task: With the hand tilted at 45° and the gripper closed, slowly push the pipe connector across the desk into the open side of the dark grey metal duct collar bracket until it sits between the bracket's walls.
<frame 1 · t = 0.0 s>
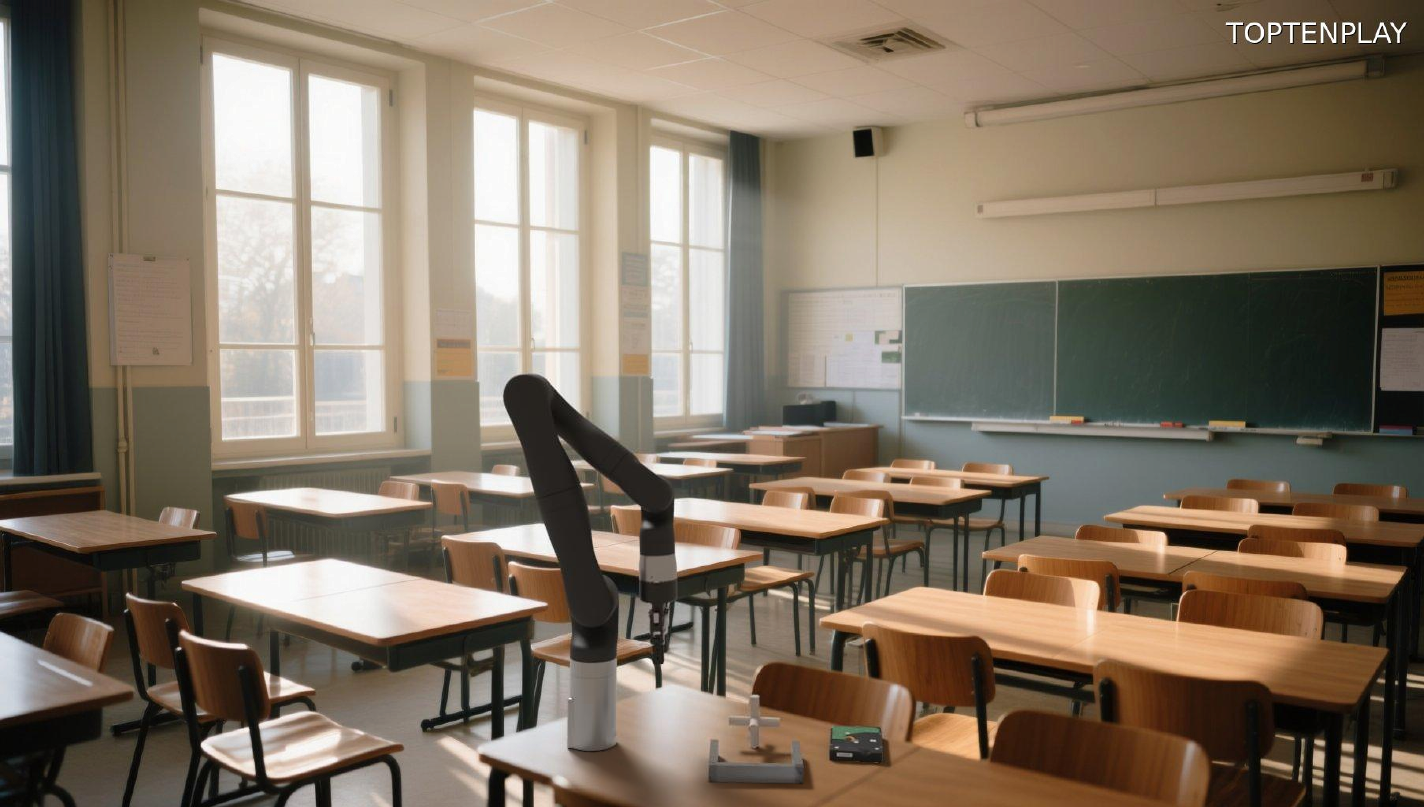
hand: (660, 658, 200), 17 cm above the table, tool pointing down, fingers open, 8 cm apart
disk drive: (855, 752, 199), on the table
pipe connector: (754, 747, 200), on the table
duct collar bracket: (755, 768, 188), on the table
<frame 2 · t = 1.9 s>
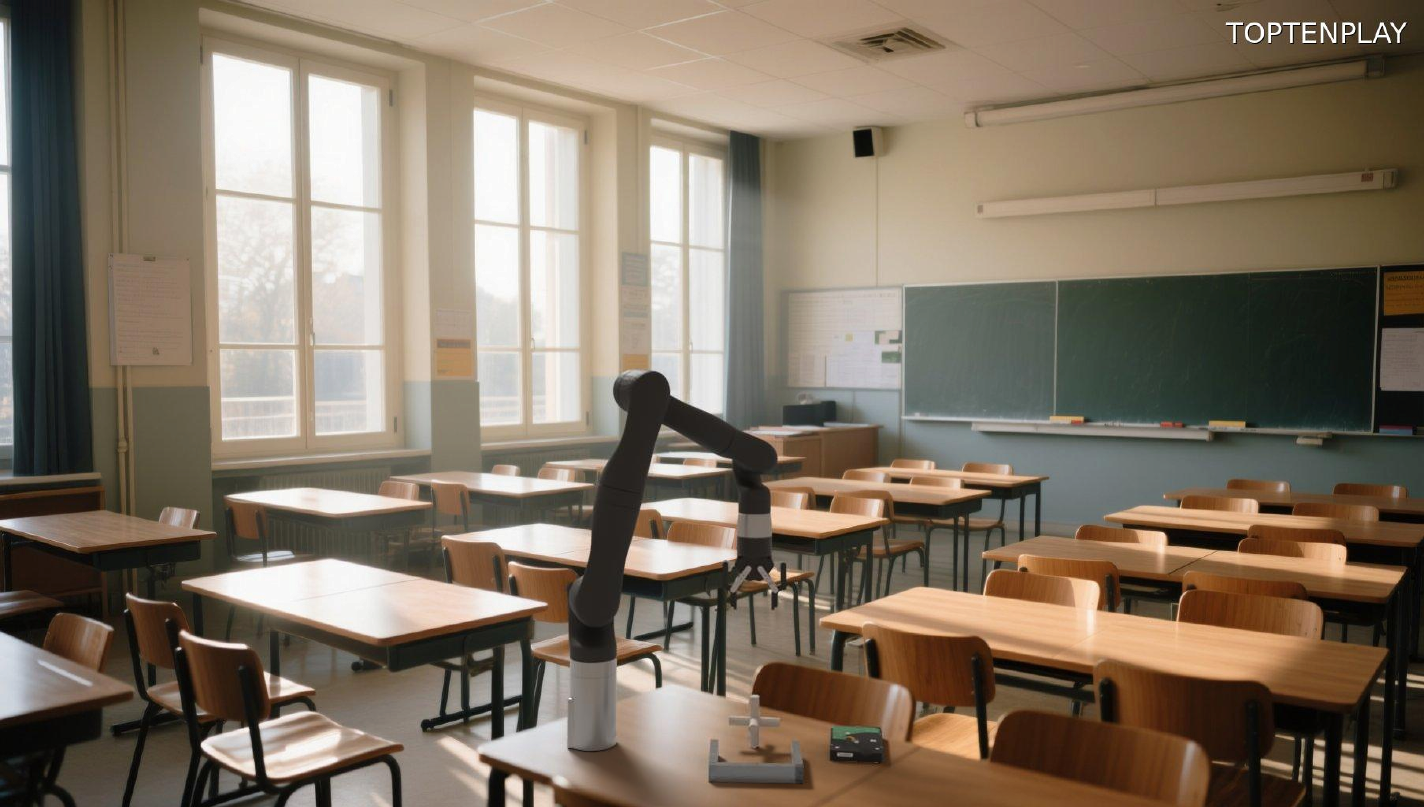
hand: (754, 609, 218), 23 cm above the table, tool pointing down, fingers open, 7 cm apart
nothing on the table moved.
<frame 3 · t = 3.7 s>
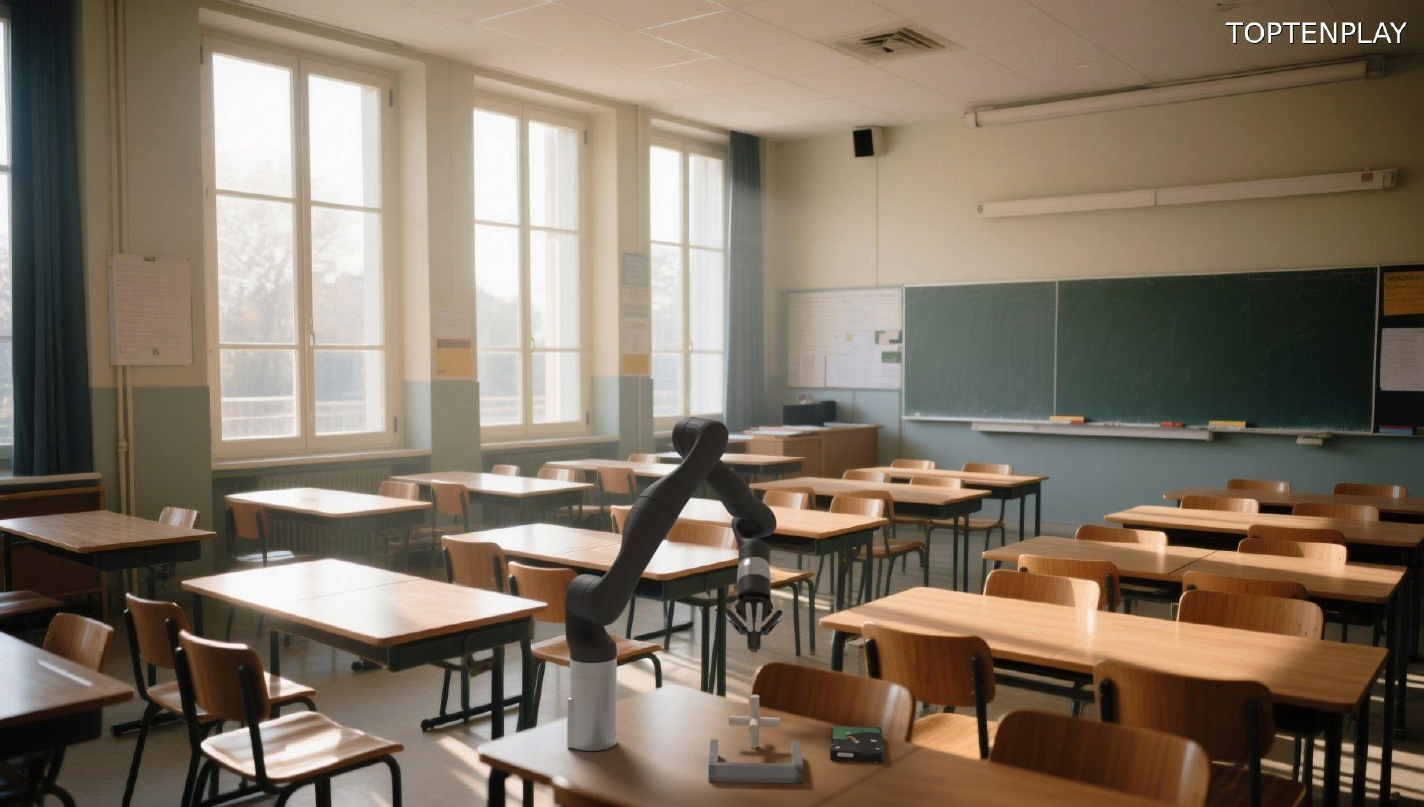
hand: (754, 650, 216), 15 cm above the table, tool tilted 45°, fingers closed
nothing on the table moved.
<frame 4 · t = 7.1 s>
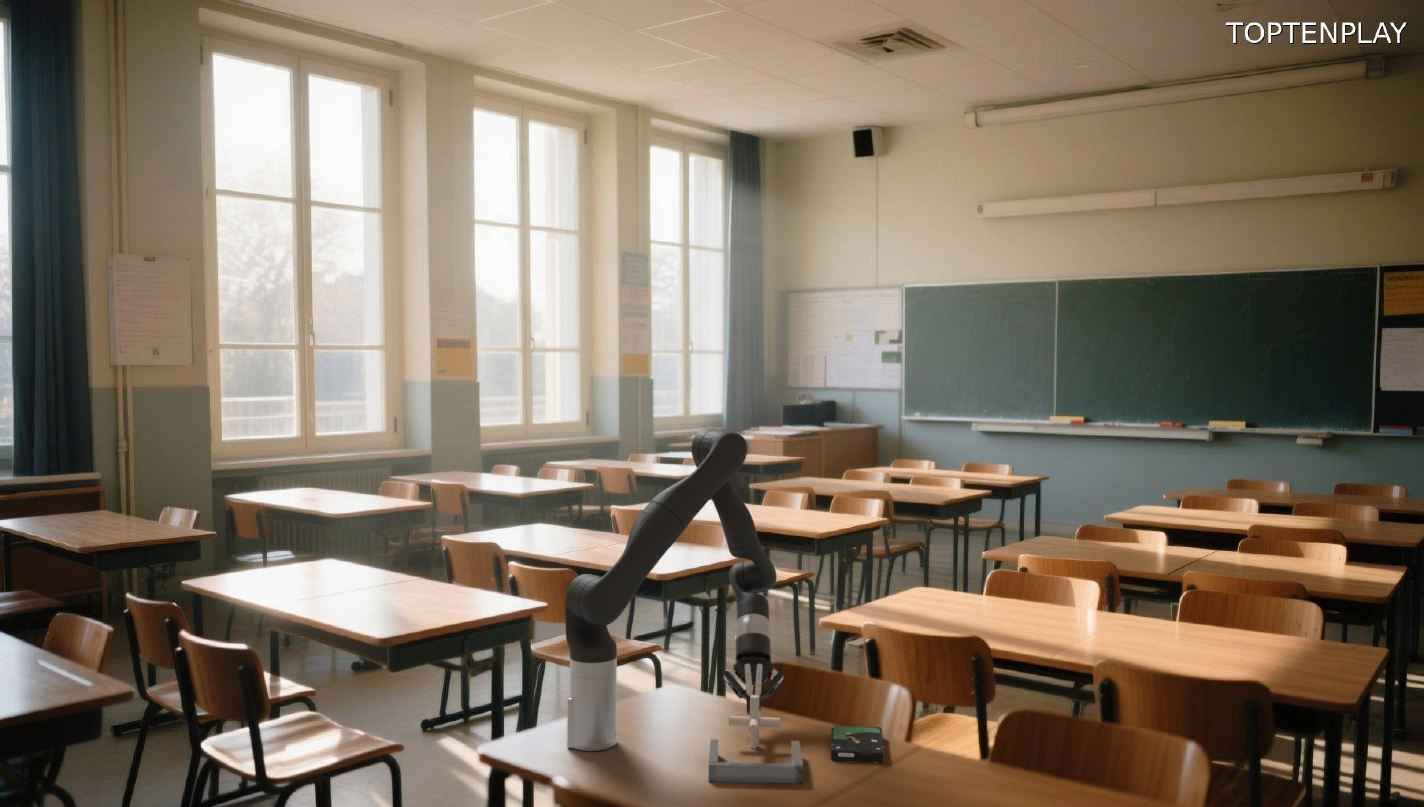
hand: (753, 715, 205), 4 cm above the table, tool tilted 45°, fingers closed
pipe connector: (754, 747, 200), on the table, touching gripper
everything else where it was.
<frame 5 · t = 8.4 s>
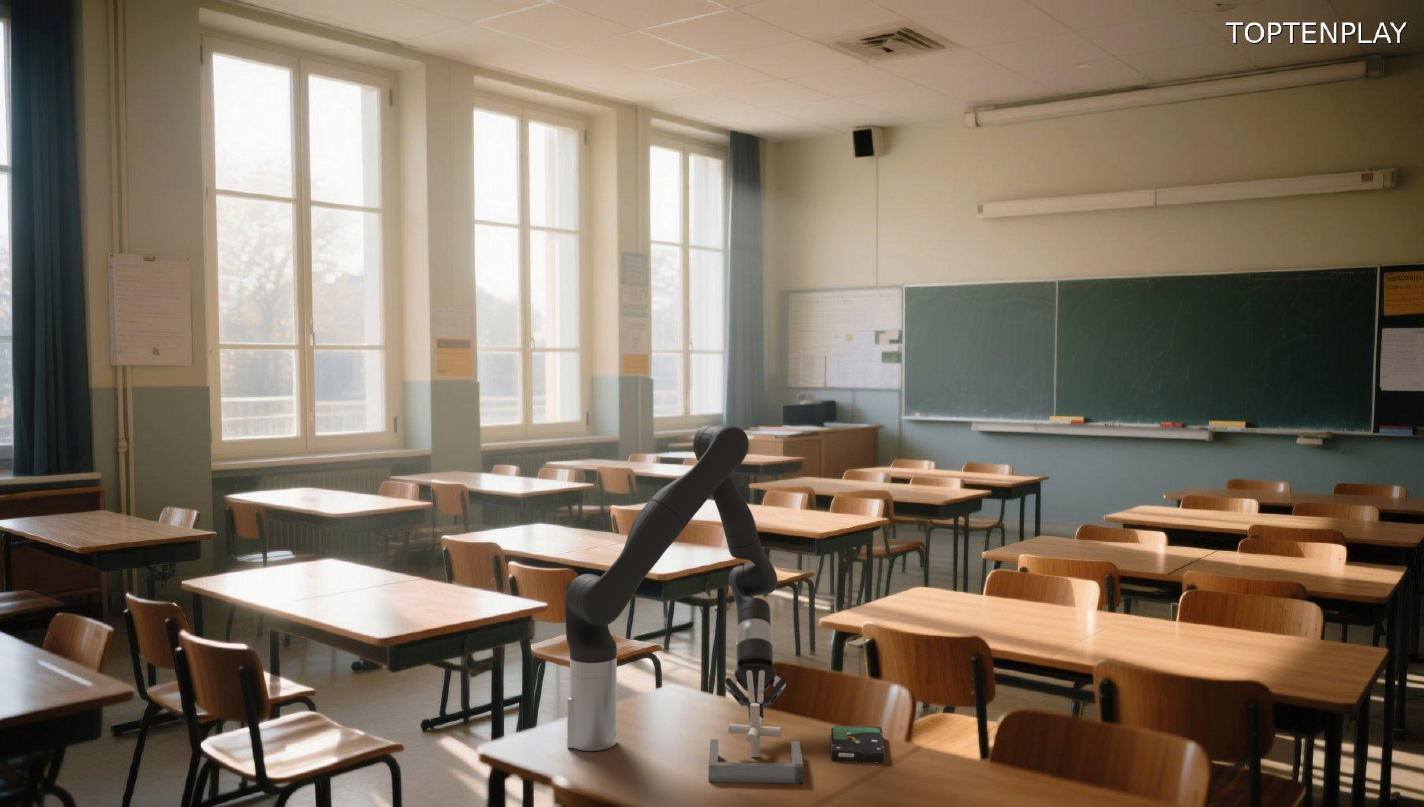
hand: (756, 724, 200), 4 cm above the table, tool tilted 45°, fingers closed
pipe connector: (754, 757, 194), on the table, touching gripper
everything else where it was.
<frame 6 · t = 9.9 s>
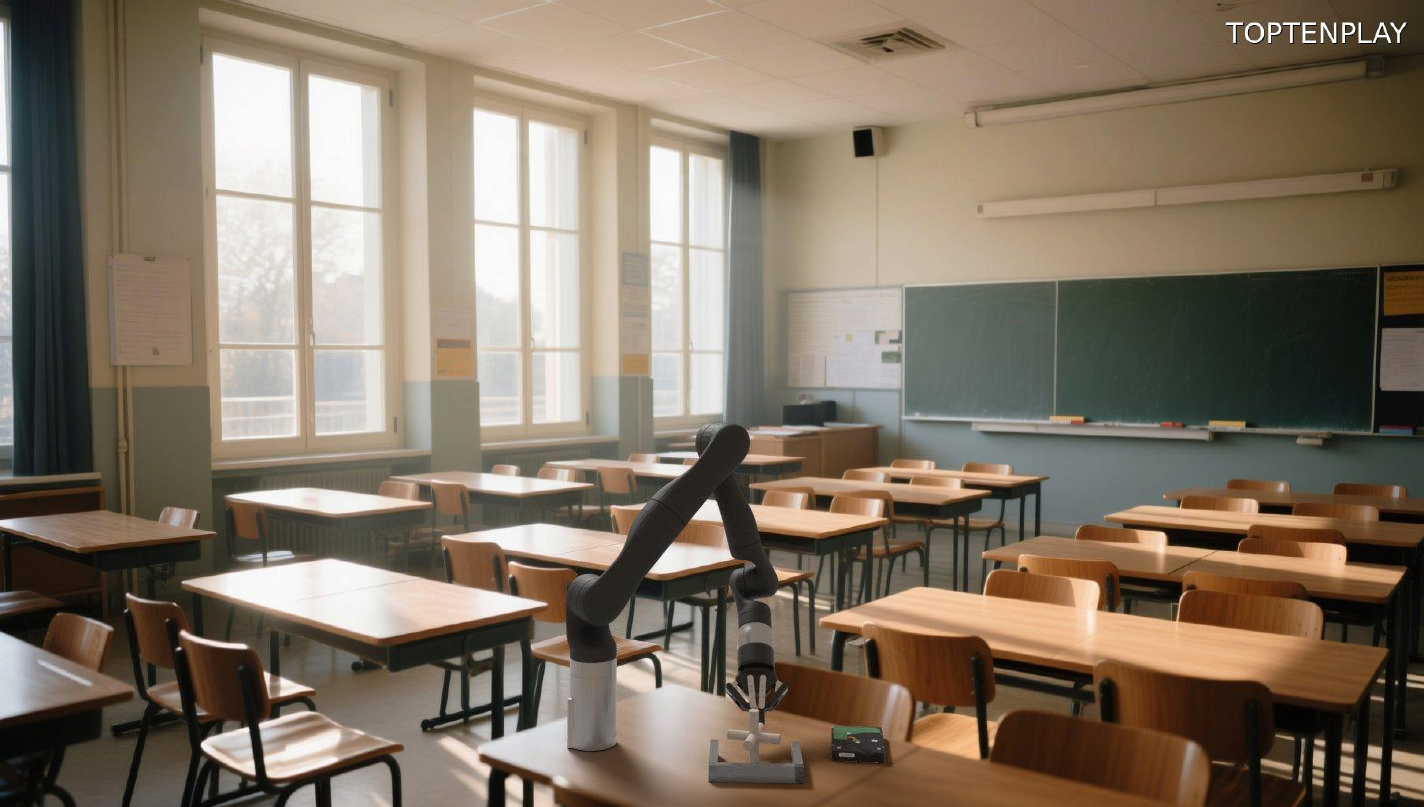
hand: (757, 729, 196), 4 cm above the table, tool tilted 45°, fingers closed
pipe connector: (754, 764, 191), on the table, touching gripper
everything else where it was.
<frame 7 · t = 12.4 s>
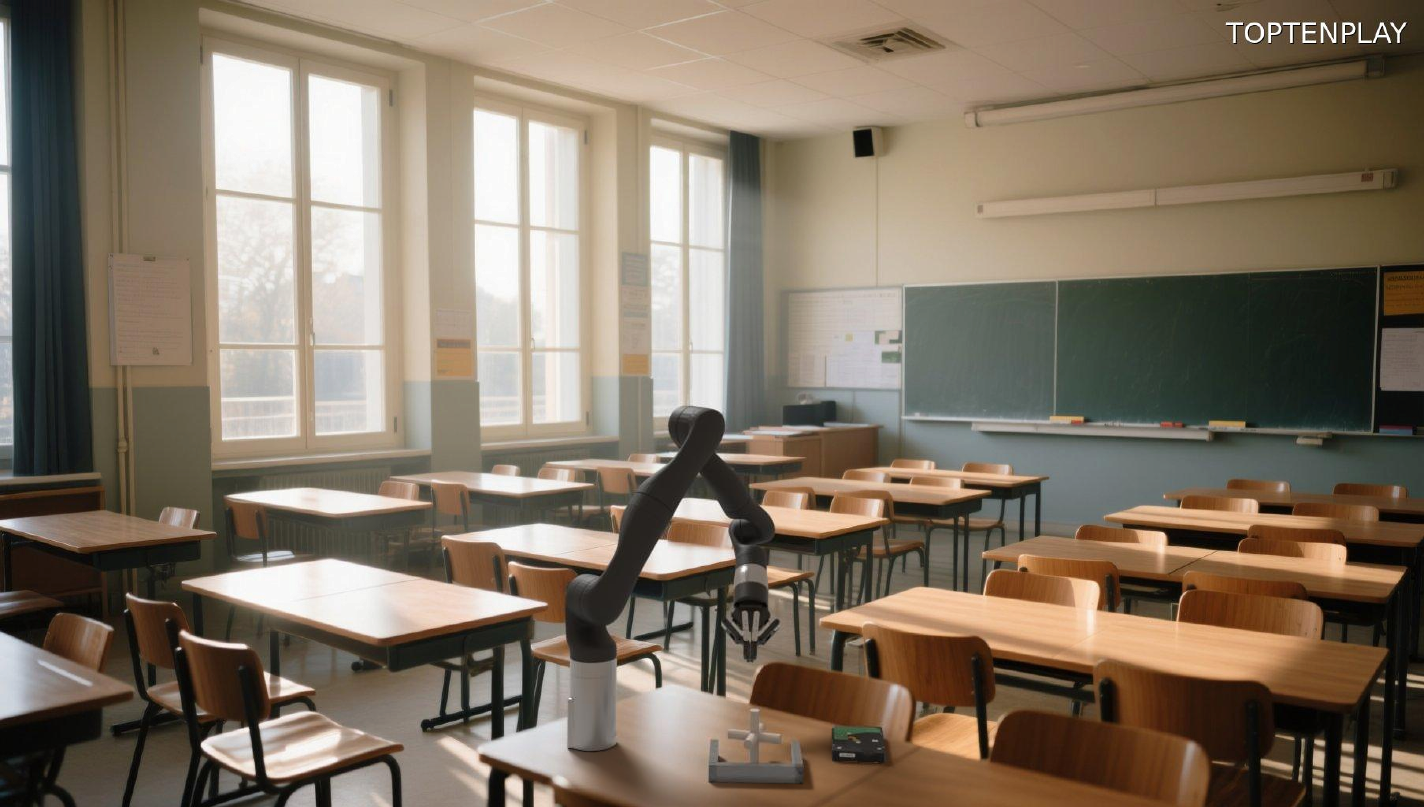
hand: (750, 660, 208), 15 cm above the table, tool tilted 45°, fingers closed
pipe connector: (754, 764, 191), on the table
everything else where it was.
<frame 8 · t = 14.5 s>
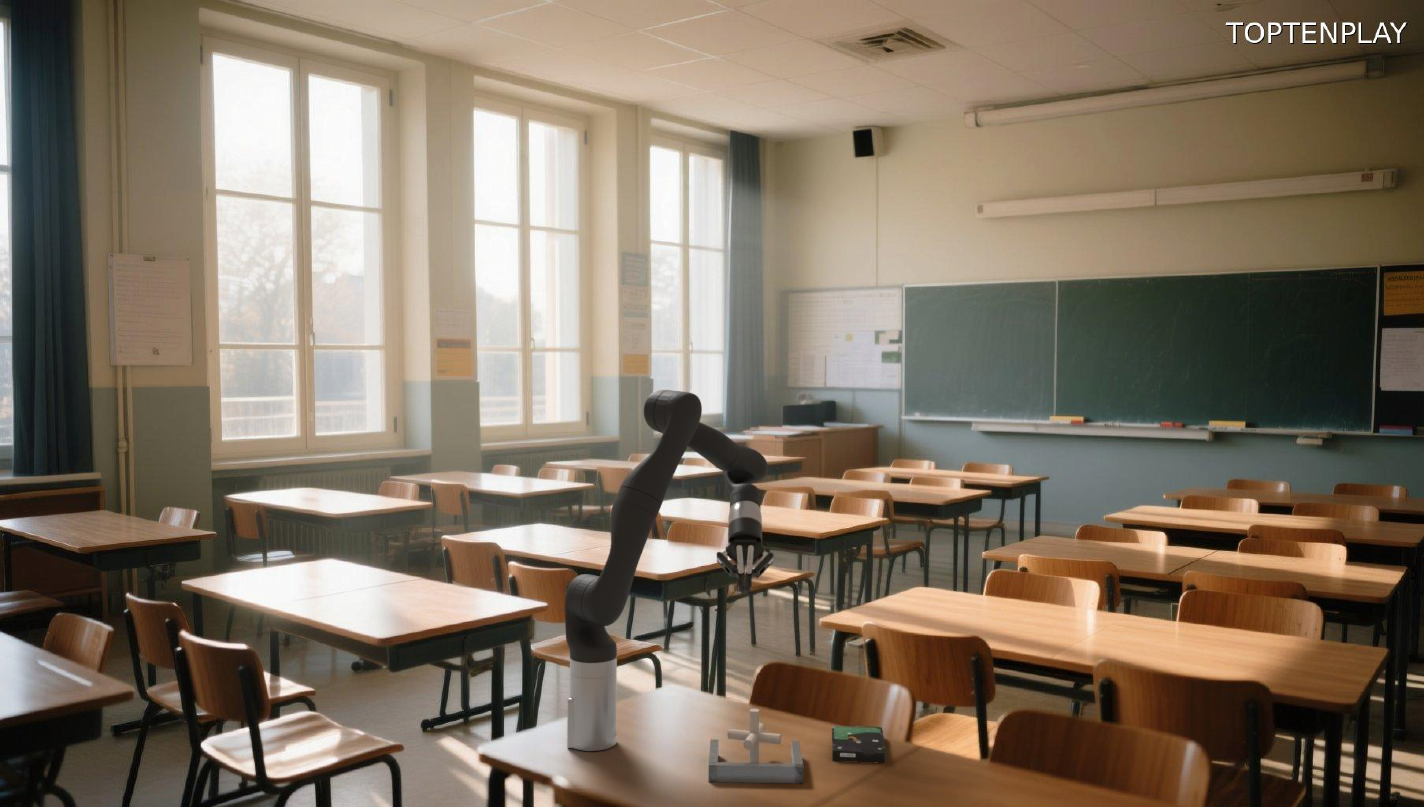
hand: (744, 591, 213), 28 cm above the table, tool tilted 45°, fingers closed
nothing on the table moved.
at the end: pipe connector inside the target area (1.6 cm from its centre), on the table; pipe connector tilted 0° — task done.
